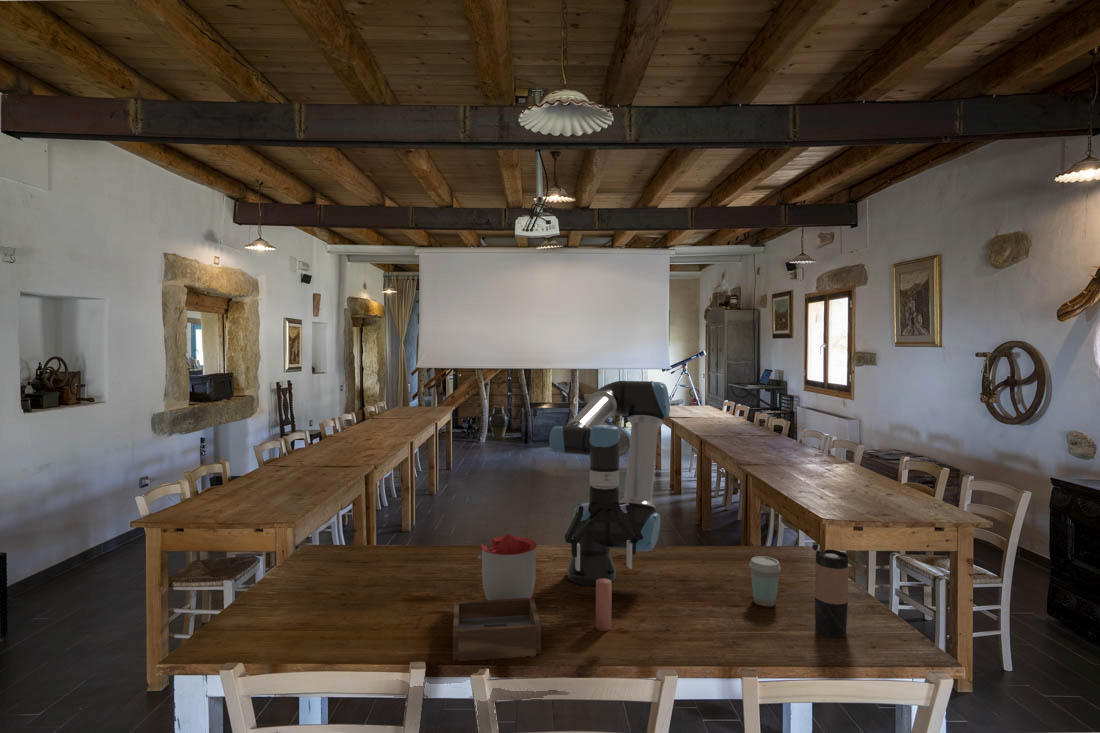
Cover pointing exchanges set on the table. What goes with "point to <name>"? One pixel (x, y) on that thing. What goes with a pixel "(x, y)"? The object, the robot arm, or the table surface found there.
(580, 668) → the table surface
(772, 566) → the coffee cup
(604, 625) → the peg
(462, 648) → the open box
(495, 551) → the citrus juicer
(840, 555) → the travel mug
